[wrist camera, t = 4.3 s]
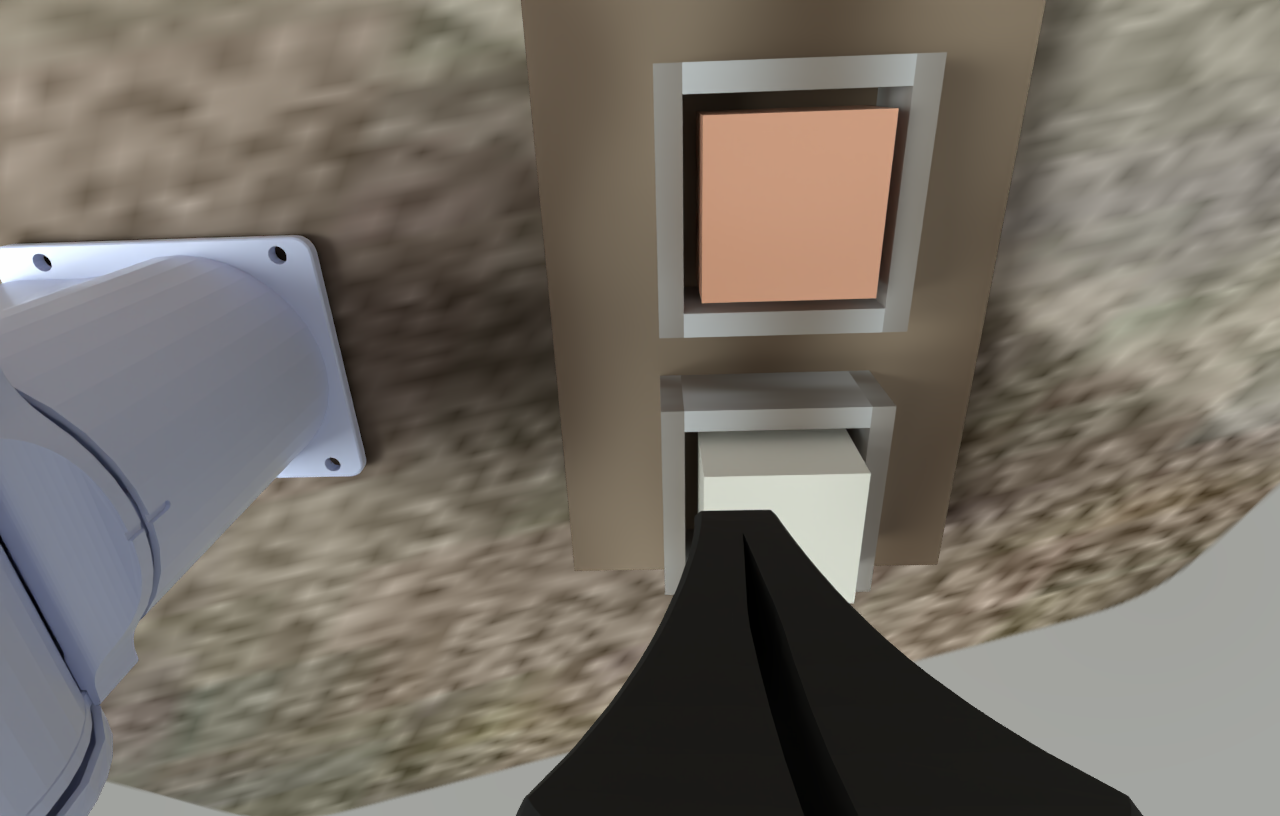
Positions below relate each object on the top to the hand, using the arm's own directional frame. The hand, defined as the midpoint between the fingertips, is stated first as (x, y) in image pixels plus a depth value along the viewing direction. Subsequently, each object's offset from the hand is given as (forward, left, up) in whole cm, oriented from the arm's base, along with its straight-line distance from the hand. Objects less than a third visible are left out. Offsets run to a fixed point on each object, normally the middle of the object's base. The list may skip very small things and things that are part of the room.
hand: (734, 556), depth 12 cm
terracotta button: (+2, +5, -8) cm, 10 cm away
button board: (+2, +5, -10) cm, 12 cm away
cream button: (+2, -3, -7) cm, 8 cm away
